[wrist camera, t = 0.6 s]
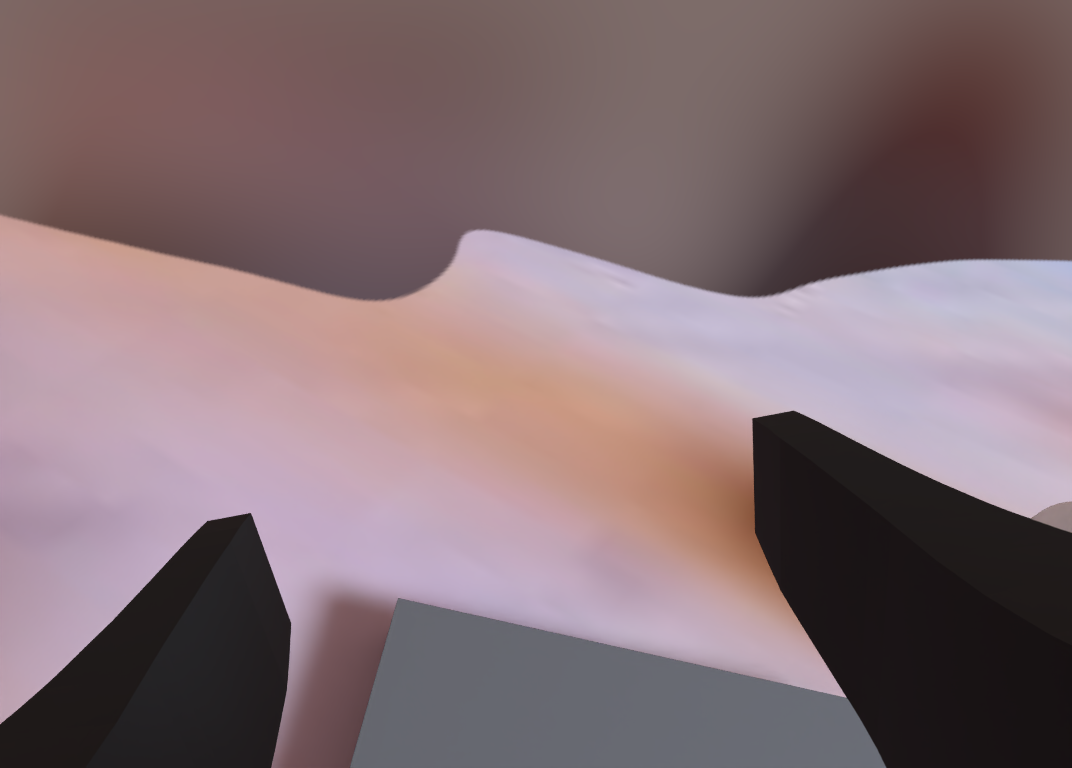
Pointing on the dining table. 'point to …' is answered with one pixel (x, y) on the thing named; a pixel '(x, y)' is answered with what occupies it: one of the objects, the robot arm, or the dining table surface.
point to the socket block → (583, 705)
